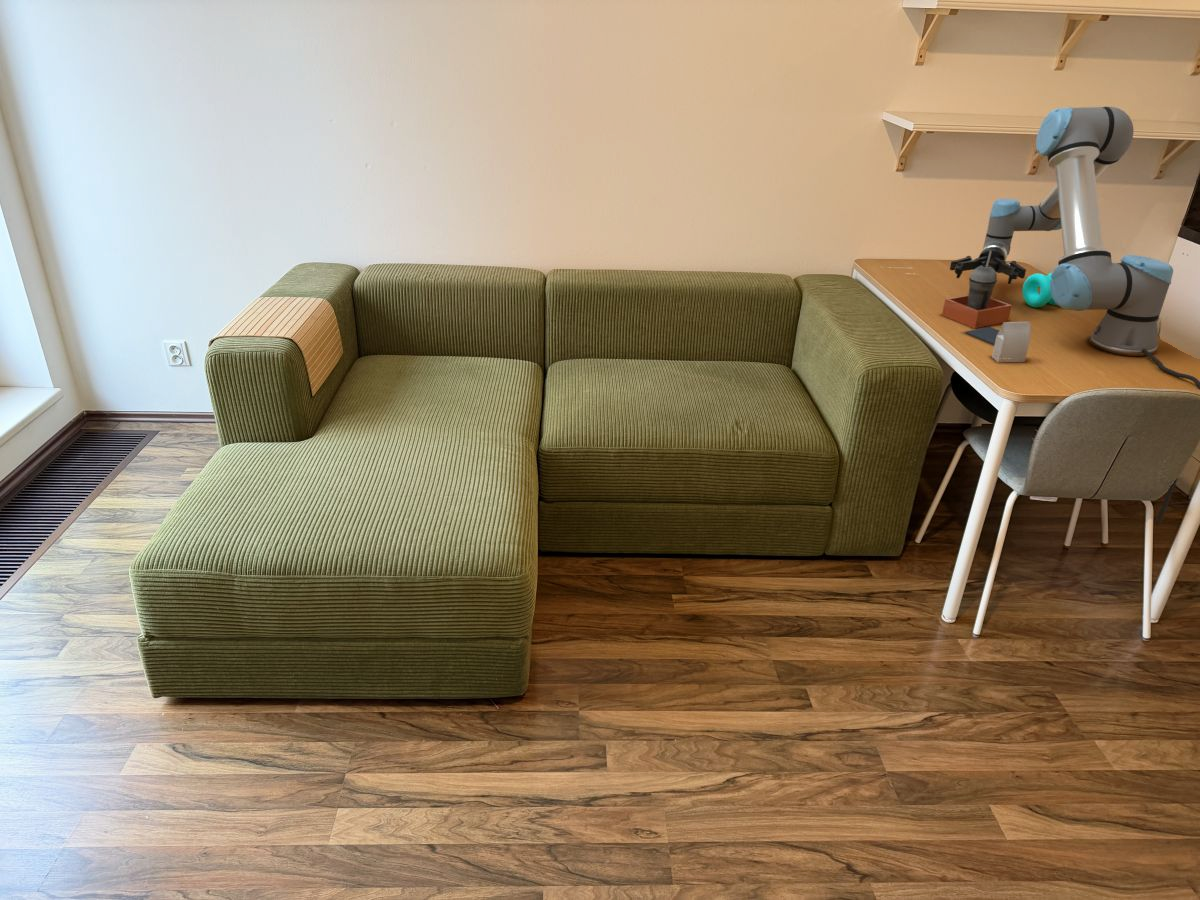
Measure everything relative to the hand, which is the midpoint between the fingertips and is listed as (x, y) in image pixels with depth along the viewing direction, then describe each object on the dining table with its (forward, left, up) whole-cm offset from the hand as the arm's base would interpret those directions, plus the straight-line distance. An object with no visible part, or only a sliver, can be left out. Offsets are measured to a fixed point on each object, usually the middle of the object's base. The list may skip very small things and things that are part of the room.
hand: (983, 276), depth 228 cm
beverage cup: (-1, +2, -12) cm, 12 cm away
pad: (-14, +9, -12) cm, 20 cm away
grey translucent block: (-28, +18, -12) cm, 35 cm away
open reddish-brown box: (-1, +2, -12) cm, 12 cm away
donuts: (-1, -25, -12) cm, 28 cm away
